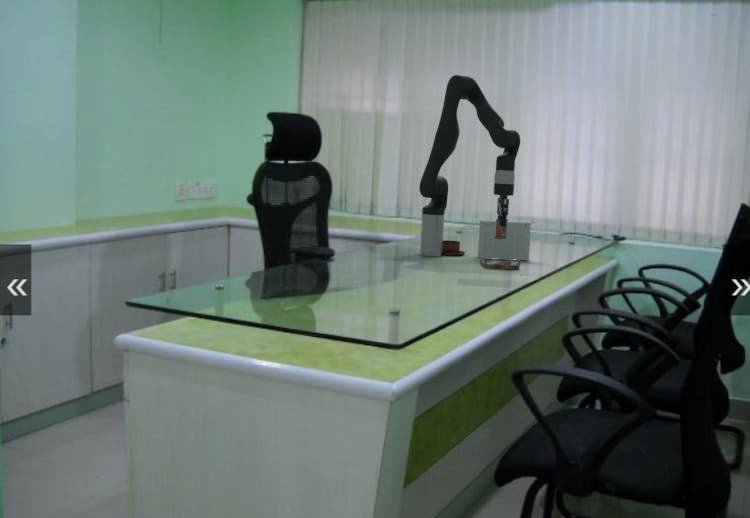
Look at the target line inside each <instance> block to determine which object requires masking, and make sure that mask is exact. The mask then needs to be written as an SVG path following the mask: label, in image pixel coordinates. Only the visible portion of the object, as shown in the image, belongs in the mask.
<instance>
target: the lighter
mask: <svg viewBox="0 0 750 518" xmlns="http://www.w3.org/2000/svg"><path fill="white" fill-rule="evenodd" d="M495 221H496V236H495V239H507V236H506V233H507V222H509V220H508V218H506V226H500V214H499V219H498V218H496V219H495Z"/></svg>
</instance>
